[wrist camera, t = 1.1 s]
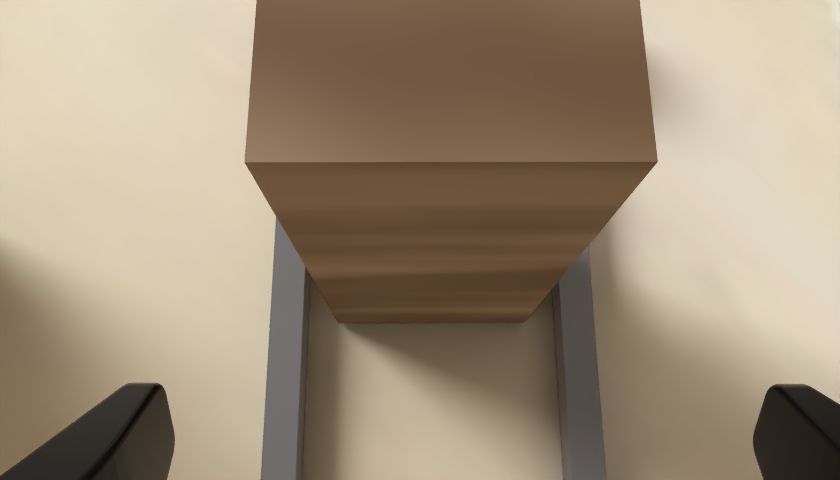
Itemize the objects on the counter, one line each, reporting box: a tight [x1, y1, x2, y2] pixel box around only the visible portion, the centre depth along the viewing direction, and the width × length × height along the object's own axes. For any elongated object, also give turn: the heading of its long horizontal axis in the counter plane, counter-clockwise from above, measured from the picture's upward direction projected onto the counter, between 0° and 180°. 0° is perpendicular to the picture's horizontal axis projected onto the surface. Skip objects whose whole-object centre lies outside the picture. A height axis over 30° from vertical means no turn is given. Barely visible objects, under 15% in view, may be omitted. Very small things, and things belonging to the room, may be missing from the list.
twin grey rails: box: [261, 217, 606, 480], centre depth 22 cm, size 18×10×3 cm, turn 0°
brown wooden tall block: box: [245, 0, 658, 323], centre depth 17 cm, size 3×6×13 cm, turn 90°
